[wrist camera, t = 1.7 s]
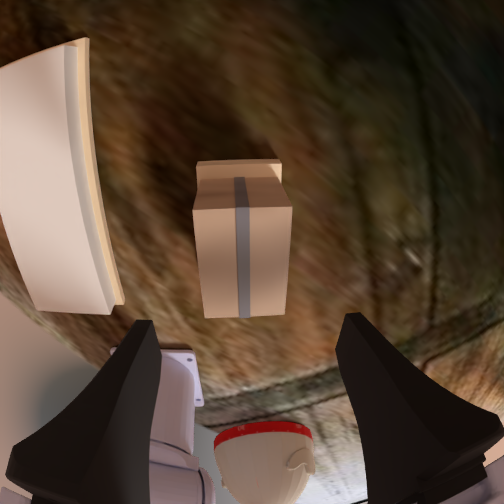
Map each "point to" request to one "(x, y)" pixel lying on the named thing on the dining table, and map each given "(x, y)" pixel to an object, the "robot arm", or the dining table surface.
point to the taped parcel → (242, 237)
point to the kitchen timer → (265, 461)
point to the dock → (55, 183)
